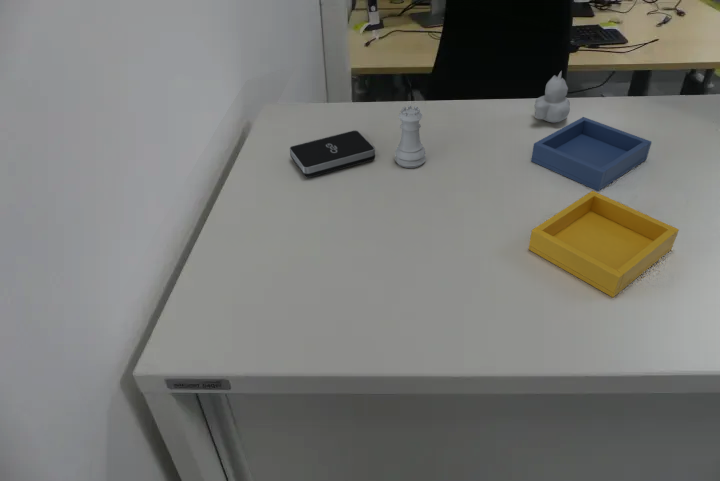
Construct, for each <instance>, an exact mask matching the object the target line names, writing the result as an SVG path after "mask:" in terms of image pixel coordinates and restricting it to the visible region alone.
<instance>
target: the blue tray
mask: <svg viewBox="0 0 720 481" xmlns="http://www.w3.org/2000/svg"><path fill="white" fill-rule="evenodd" d="M652 143H653V142H652V140H649V139H646V138H644V137H640V136H637V135H636V134H635V135H634V134H632V133H629V132H626V131H623V130H621V129H618V128H615V127H612V126H609V125H607V124H605V123H602V122H598V121H596V120H593V119H590V118H588V117H585V116H582V117H580V118H579V119H576V120H575V121H573V122H571V123H569V124H567V125H565V126H564V127H562V128H560V129H558V130H556V131H554V132H552V133H550V134H548V135H547V136H545V137H543V138H541V139H539V140H538V141H535V142H534V143H533V147H532V151H531V152H532V153H531V158H530V161H531V162H532V163H535V164H537V165H539V166H541V167H543V168H546V169H548V170H550V171H552V172H555V173H557V174H558V175H561V176H564V177H566V178H568V179H570V180H572V181H574V182H577V183H578V184H582V185H584V186H586V187H588V188H590V189H593V190H594V191H596V192H600V191H601V190H602V189H603V188H605V187H607V186H608V185H610V184H611V183H613V182H614V181H616V180H617V179H619V178H620V177H622V176H623V175H625V174H627V173H628V172H630V171H631V170H633V169H634V168H636V167H637V166H639V165H641V164H642V163H643V162H645V161H646V160H647V159H648V156H649V152H650V149H651V146H652Z"/></svg>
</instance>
